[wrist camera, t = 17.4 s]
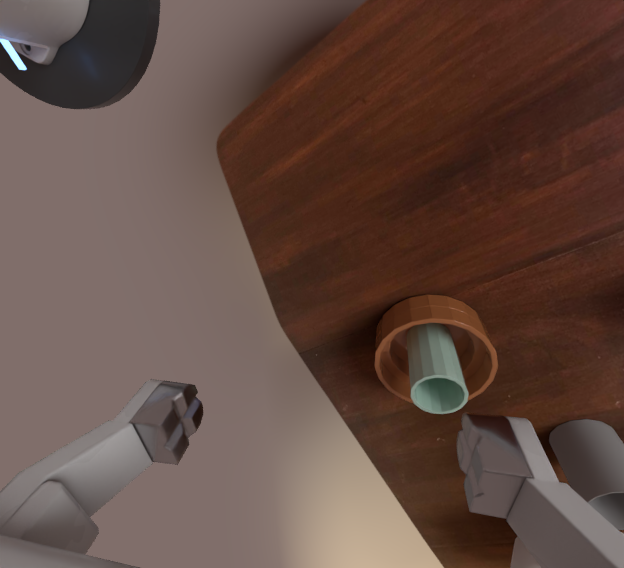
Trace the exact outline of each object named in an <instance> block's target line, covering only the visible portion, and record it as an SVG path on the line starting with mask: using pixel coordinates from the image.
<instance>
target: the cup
mask: <svg viewBox="0 0 624 568" xmlns="http://www.w3.org/2000/svg"><path fill="white" fill-rule="evenodd" d="M549 443H550V445H551V447H552V449H553V451H554V453H555V455H556V457H557V459H558V461H559V463H560V465H561V467H562V470H563V472H564V474H565V476H566V478H567V480H568V482H569V484H570V486H571V488H572V489H573V490H574V491H575V492H576V493H578V494H579V495H580V496H581V497H582V498H583V499H584V500H585V501H586V502H588V503H589V504H590V505H591V506H592V507H593V508H594V509H595V510H596V511H597V512H599V513H600V514H601V515H602V516H603V517H604V518H605V519H606V520H607V521H609V522H610V523H611V524H612V525H613V526H614V527H615V528H616V529H617V530H624V444H623V442H622V441H621V439H620V438H619V437H618V435H617V434H616V432H615V431H614V429H613V428H612V427H610V426H609V425H607V424H605V423H603V422H601V421H594V420H588V419H584V420H574V421H569V422H566V423H564V424H561V425H559V426H557V427H556V428H555V429H554V430H553V431H552V432H551V433H550V437H549Z"/></svg>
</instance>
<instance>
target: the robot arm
mask: <svg viewBox="0 0 624 568" xmlns="http://www.w3.org/2000/svg"><path fill="white" fill-rule="evenodd" d="M88 6H89V0H0V42H1V43H2V45H3V46H4V48H5V49H6V51H7V52H8V54H9V55H10V56H11V58H12V59H13V61H14V62H15V64H16V65H17V67H18V68H19V70H26V69H27V68H26V67H25V65H24V64H23V62H22V61H21V59H20V58H19V56H18V55H17V53H16V52H15V51H17V52H19V53H20V54H22V55H24V56H26V57H27V58H29V59H31V60H33V61H34V62H36V63H39V64H43V65H49V64H51V63H52V61H53V59H54V58H55V55H56V53H57V51H58V48H59V47H60V46H61V45H62V44H64V43H65V42H67V41H69V40H70V39H72V38H73V37H74V36H75V35H76V34H77V33H78V32H79V30H80V29H81V27H82V25H83V23H84V21H85V18H86V15H87V11H88ZM30 46H31V47H30ZM197 393H198V392H197V389H196V387H195V385H192V384H184V383H177V382H170V381H161V380H152V379H151V380H149V381H147V382H145V384H144V385H143V386H142V387H141V388H140V389H139V391H138V392H137V393H136V394H135V395H134V396H133V398H132V399H131V400H130V401H129V402H128V404H127V405H126V406H125V407H124V408H123V409H122V411H121V412H120V413H119V414H118V416H117V417H116V418H115V419H114V420H113V421H107V422H105V423H103V424H102V425H100V426H98V427H97V428H95V429H93V430H91V431H90V432H88V433H86V434H85V435H83V436H81V437H80V438H78V439H76V440H74V441H73V442H71V443H69V444H67V445H66V446H64V447H62V448H61V449H59V450H57V451H55V452H54V453H52V454H50V455H49V456H47V457H45V458H43V459H42V460H40V461H38V462H37V463H35V464H33V465H32V466H30V467H28V468H26V469H25V470H23V471H21V472H19V473H18V474H17V475H16V476H15V477H14V478H13V479H12V480H11V481H10V482H9V483H8V484H7V485H6V486H5V487H4V488H3V489H2V490H1V491H0V568H139V567H135V566H130V565H126V564H122V563H118V562H114V561H110V560H105V559H101V558H97V557H93V556H88V555H85V554H86V552H87V550H88V549H89V548H90V546H91V545H92V543H93V541H94V540H95V538H96V537H97V535H98V533H99V532H98V527H97V526H96V524H95V523H94V522H93V521H92V520H91V518H90V517H91V516H92V515H93V514H94V513H95V512H97V511H98V510H99V509H100V508H101V507H102V506H103V505H105V504H106V503H107V502H108V501H109V500H111V499H112V498H113V497H114V496H115V495H116V494H118V493H119V492H120V491H121V490H122V489H123V488H124V487H126V486H127V485H128V484H129V483H130V482H131V481H133V480H134V479H135V478H136V477H137V476H138V475H140V474H141V473H142V472H143V471H144V470H146V468H148V467H149V466H150V465H151V464H152V462H160V463H167V464H175V465H178V463H179V461H180V460H181V458H182V456H183V454H184V453H185V451H186V449H187V447H188V446H189V440H188V437H190V436H191V435H192V434H194V433H195V432H196V431H197V429H198V427H199V426H200V424H201V420H202V416H203V406H202V403H201V401H200V400H198V398H196V397H195V396H196V394H197ZM461 422H462V426H463V429H462V430H460V431H459V432H458V437H457V455H458V461H459V466H460V468H461V469H462V471H463V472H464V473H465V474H466V478H465V481H464V489H465V493H466V498H467V502H468V507H469V511H470V512H473V513H478V514H484V515H489V516H494V517H500V518H505V519H507V520H506V521H507V523H508V524H509V525H510V527H511V528H512V529H513V531H514V532H515V533H516V535H517V536H518V537H519V539H520V540H521V541H522V543H523V544H524V545H525V547H526V548H527V549H528V551H529V552H530V553H531V555H532V556H533V557H534V559H535V560H536V561H537V563H538V564H539V565H540V567H541V568H624V535H623V534H622V533H621V532H620V531H618V530H617V529H616V528H615V527H614V526H613V525H612V524H611V523H610V522H609V521H607V520H606V519H605V518H604V517H603V516H602V515H601V514H600V513H599V512H597V511H596V510H595V509H594V508H593V507H592V506H591V505H590V504H589V503H588V502H586V501H585V500H584V499H583V498H582V497H581V496H580V495H579V494H578V493H576V492H575V491H574V490H573V489H572V488H571V487H570V486H569V485H568V484H566V483H562V482H559V481H558V479H557V477H556V475H555V472H554V470H553V468H552V466H551V464H550V462H549V460H548V458H547V456H546V454H545V452H544V450H543V447H542V445H541V443H540V441H539V439H538V437H537V435H536V433H535V431H534V429H533V427H532V425H531V422H530V421H529V420H528V419H526V418H516V417H507V416H505V417H504V416H500V415H489V414H478V413H467V412H465V413H464V414H463V416H462V420H461Z"/></svg>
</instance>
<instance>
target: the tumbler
mask: <svg viewBox="0 0 624 568" xmlns="http://www.w3.org/2000/svg"><path fill="white" fill-rule="evenodd" d="M406 347H407V359H408V372H409V384H410V396H411V399H412V400H413V402H414V404H415V405H416V406H418V407H419V408H420V409H422V410H424V411H427V412H430V413H435V414H446V413H452V412H455V411H457V410H459V409H461V408H462V407H463V406H464V405H465V404H466V402H467V401H468V395H469V393H468V389H467V386H466V382H465V379H464V375H463V372H462V368H461V365H460V361H459V358H458V354H457V351H456V347H455V344H454V340H453V337H452V334H451V332H450V330H449V329H448V328H447V327H446V326H444V325H442V324H440V323H426V324H420V325H414V326H413V327H412V328H411V329H410V330H409V331H408V333H407V336H406Z"/></svg>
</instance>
